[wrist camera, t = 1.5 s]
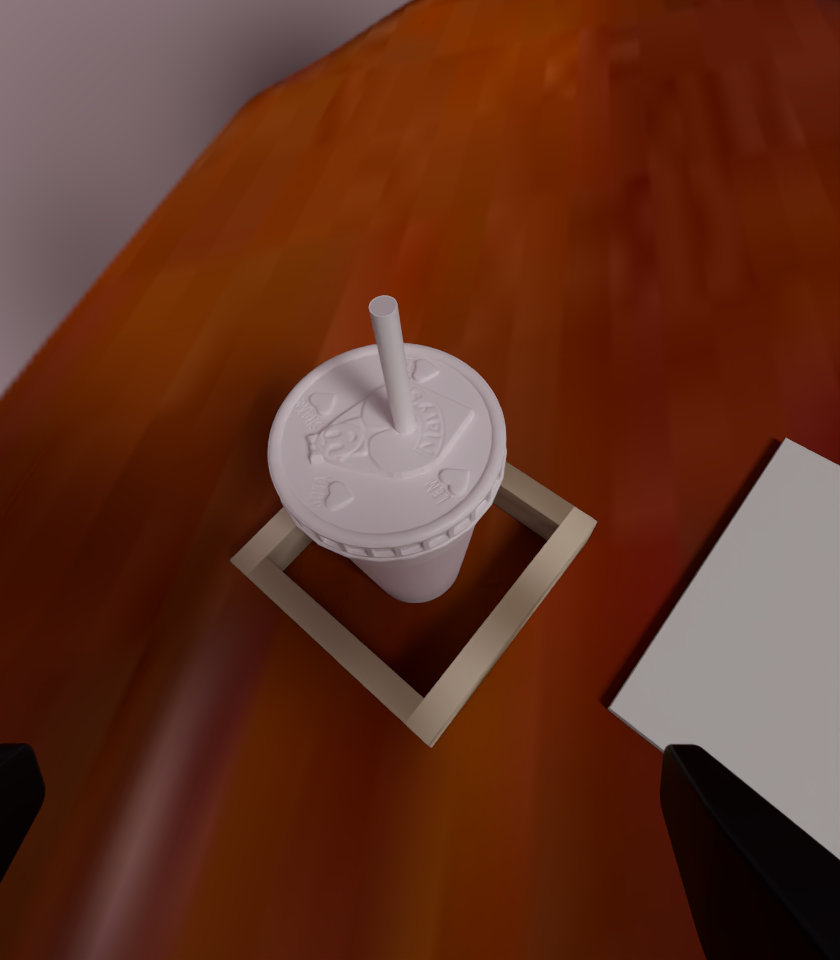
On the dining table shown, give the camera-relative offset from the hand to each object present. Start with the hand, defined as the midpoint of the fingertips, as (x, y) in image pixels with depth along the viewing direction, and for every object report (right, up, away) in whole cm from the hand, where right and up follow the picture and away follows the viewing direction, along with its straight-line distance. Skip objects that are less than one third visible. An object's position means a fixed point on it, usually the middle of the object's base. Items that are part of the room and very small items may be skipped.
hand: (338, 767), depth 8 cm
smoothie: (+1, +1, +15) cm, 15 cm away
